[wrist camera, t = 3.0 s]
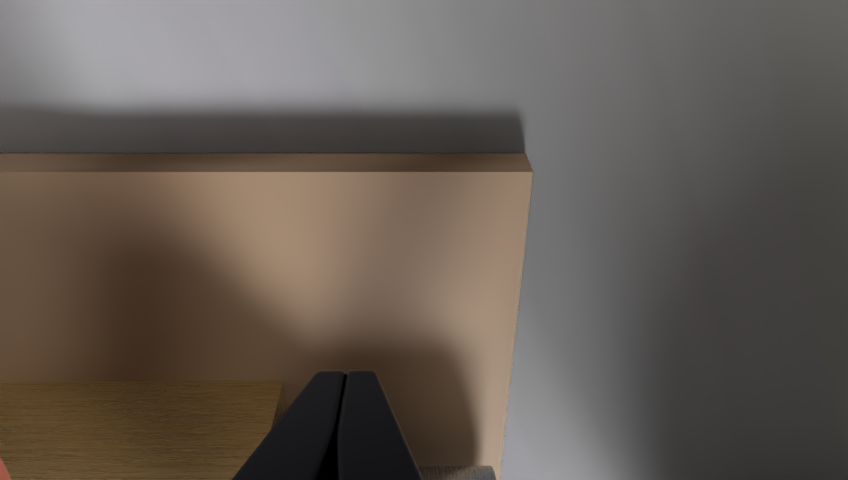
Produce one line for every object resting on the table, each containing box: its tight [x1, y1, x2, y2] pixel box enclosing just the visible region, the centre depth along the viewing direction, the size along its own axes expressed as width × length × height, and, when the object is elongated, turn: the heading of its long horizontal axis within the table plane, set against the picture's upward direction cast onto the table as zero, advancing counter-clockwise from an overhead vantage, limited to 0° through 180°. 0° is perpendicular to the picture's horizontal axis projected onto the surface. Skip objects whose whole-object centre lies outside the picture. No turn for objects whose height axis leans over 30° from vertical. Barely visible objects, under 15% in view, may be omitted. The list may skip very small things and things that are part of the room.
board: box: [0, 153, 533, 480], centre depth 18 cm, size 20×17×1 cm
